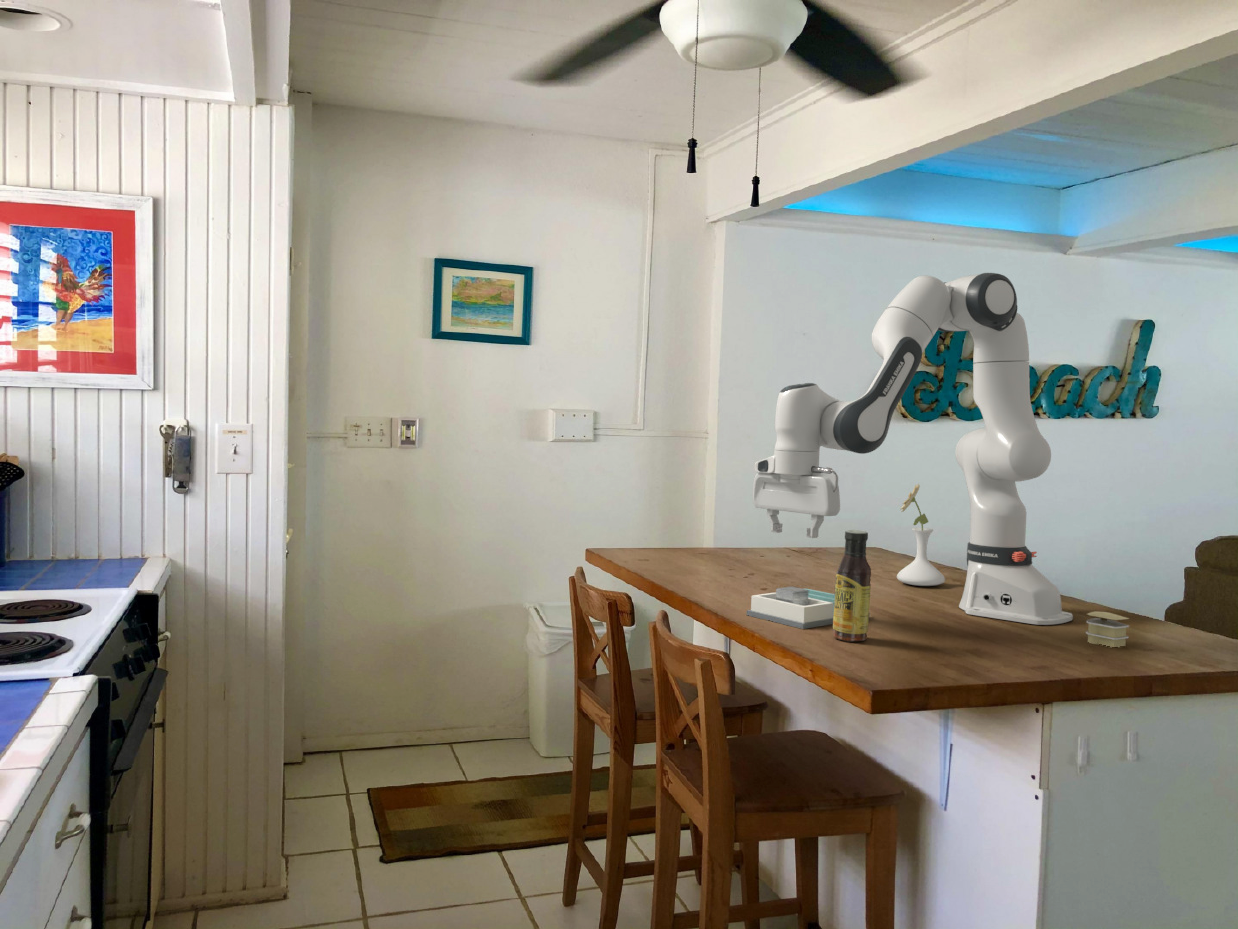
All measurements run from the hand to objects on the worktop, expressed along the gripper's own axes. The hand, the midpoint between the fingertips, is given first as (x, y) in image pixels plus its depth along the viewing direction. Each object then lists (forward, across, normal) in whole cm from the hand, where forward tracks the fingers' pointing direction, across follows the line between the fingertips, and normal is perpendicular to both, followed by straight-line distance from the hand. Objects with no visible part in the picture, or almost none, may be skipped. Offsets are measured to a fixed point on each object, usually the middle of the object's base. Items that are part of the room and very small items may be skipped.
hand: (794, 534), depth 192 cm
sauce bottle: (+17, -18, +4) cm, 25 cm away
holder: (+17, 0, -5) cm, 18 cm away
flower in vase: (+17, +11, -58) cm, 61 cm away
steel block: (+16, 0, 0) cm, 16 cm away
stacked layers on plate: (+18, -46, -34) cm, 60 cm away
